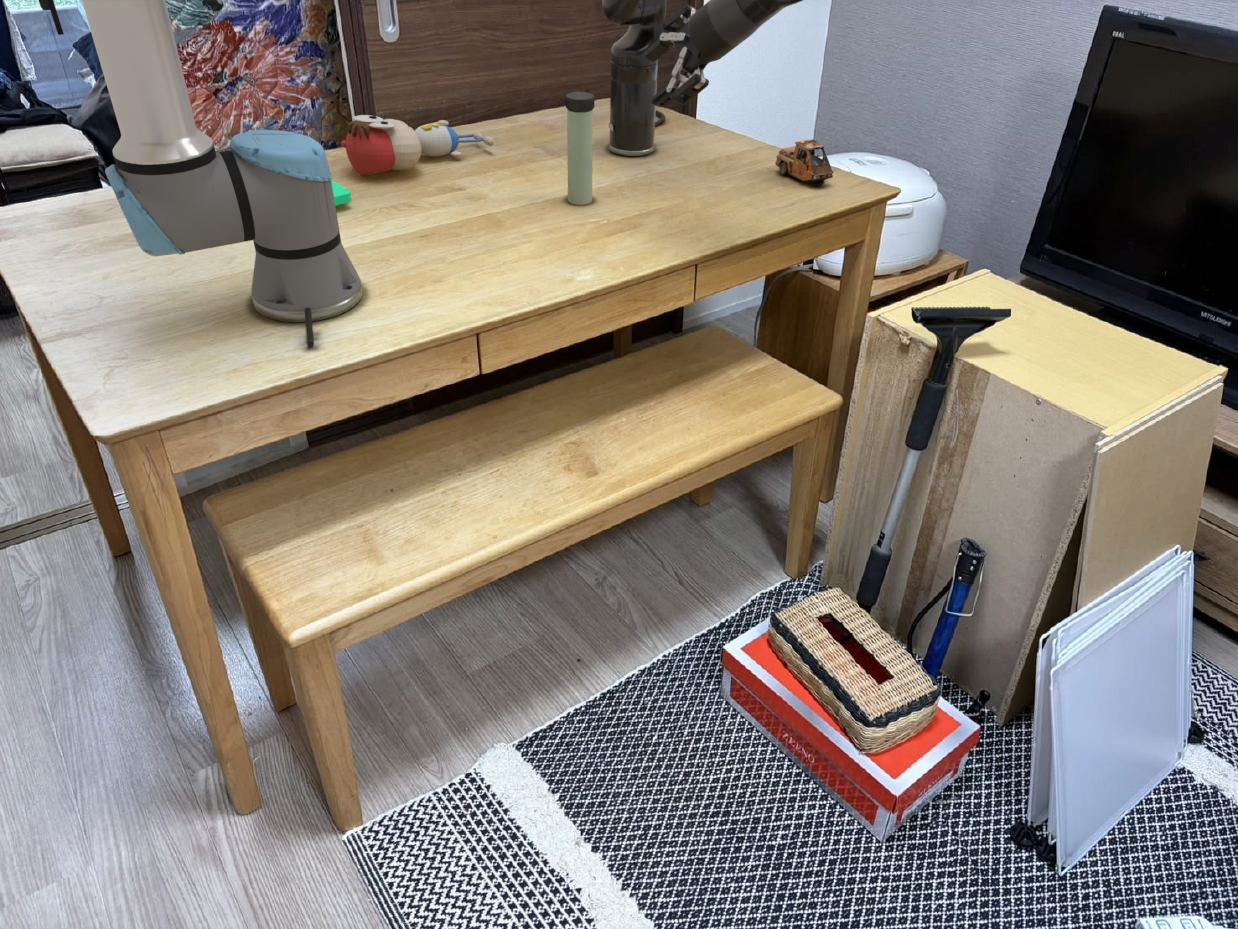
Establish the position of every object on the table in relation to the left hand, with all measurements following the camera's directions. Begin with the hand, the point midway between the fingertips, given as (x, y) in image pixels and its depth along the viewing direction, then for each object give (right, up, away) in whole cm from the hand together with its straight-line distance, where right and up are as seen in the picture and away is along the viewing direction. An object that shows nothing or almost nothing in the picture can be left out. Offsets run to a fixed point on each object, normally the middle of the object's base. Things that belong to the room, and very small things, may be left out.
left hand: (108, 29), depth 146 cm
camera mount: (+27, -22, +18) cm, 40 cm away
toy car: (+117, -13, +34) cm, 122 cm away
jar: (+74, -21, +22) cm, 80 cm away
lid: (+74, -6, +11) cm, 75 cm away
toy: (+42, -9, +36) cm, 56 cm away
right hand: (+86, -7, +2) cm, 86 cm away
